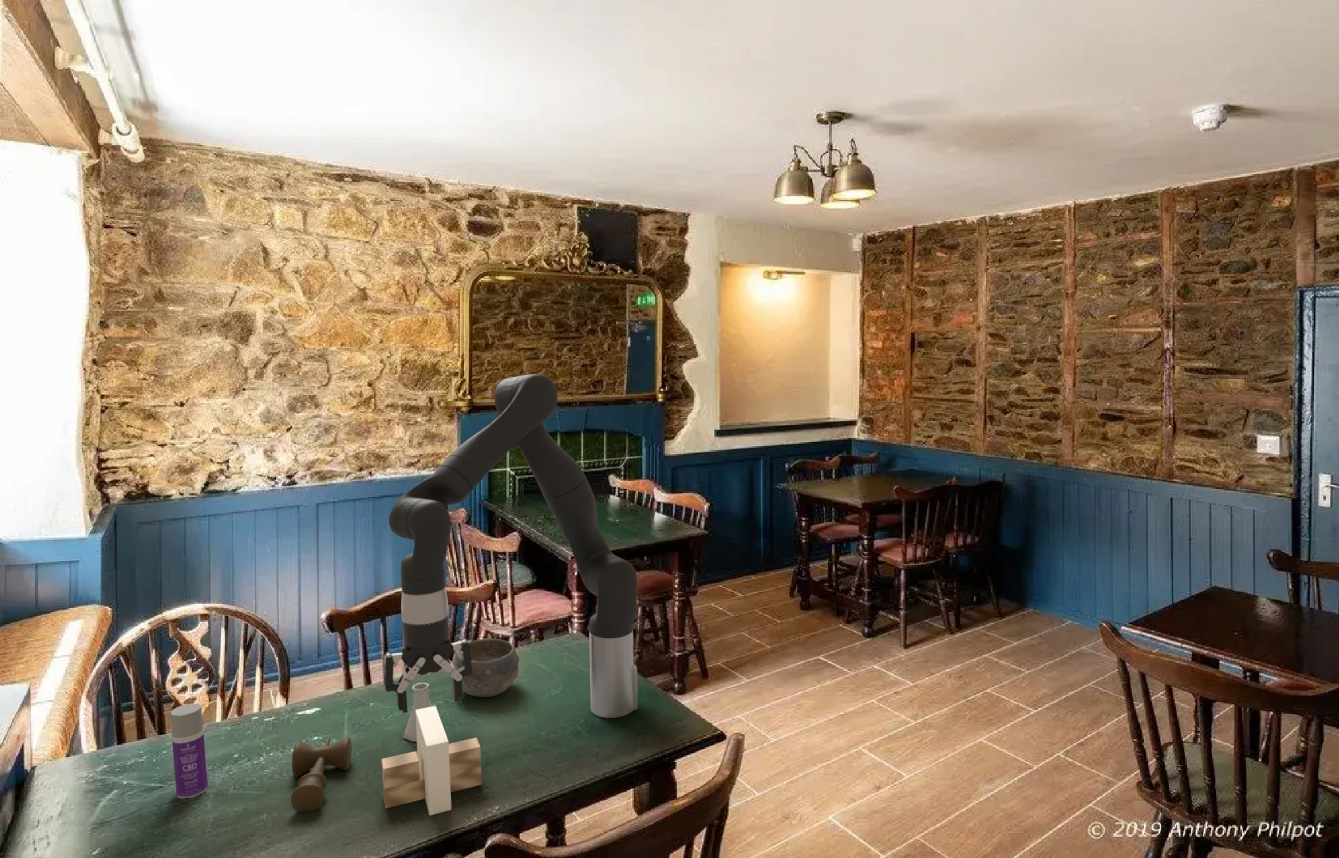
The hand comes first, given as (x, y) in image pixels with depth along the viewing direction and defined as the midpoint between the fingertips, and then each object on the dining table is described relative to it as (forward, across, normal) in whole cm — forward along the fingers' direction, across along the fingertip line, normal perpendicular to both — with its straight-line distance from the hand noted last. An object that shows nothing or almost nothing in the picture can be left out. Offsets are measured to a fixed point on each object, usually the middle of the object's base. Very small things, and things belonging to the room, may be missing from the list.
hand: (430, 705), depth 129 cm
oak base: (+16, 0, 0) cm, 16 cm away
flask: (+16, -1, -22) cm, 27 cm away
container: (+15, +38, -19) cm, 45 cm away
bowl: (+16, -16, -34) cm, 42 cm away
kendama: (+16, +18, -13) cm, 27 cm away
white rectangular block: (+16, 0, 0) cm, 16 cm away
